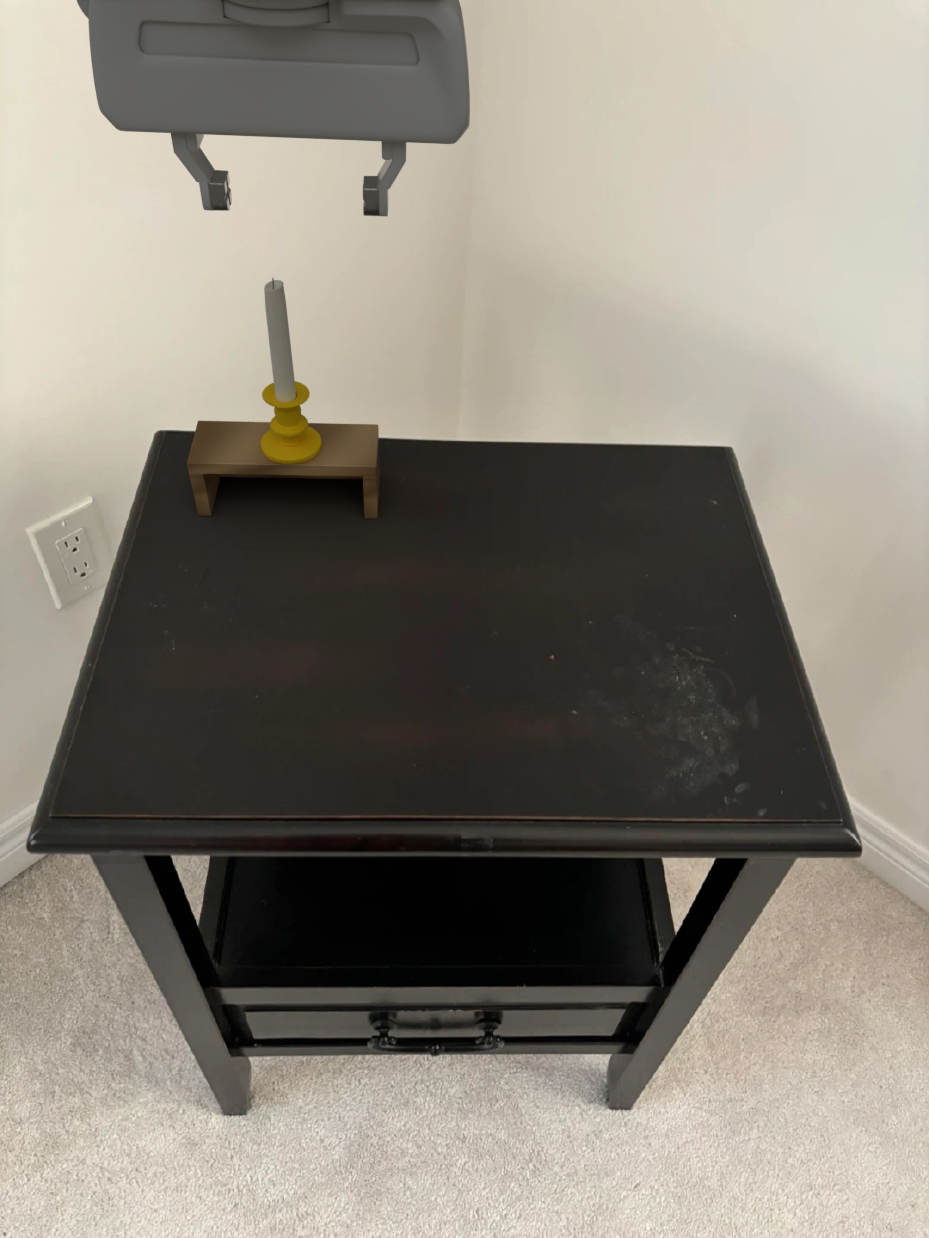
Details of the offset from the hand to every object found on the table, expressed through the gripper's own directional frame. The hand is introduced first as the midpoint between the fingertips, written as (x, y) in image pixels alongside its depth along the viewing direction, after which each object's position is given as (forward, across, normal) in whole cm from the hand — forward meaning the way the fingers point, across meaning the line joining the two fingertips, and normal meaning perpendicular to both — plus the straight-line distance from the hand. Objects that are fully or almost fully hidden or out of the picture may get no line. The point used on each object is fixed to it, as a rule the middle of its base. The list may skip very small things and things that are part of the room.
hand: (297, 209), depth 56 cm
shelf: (+31, -4, +10) cm, 33 cm away
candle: (+25, -4, +10) cm, 27 cm away
